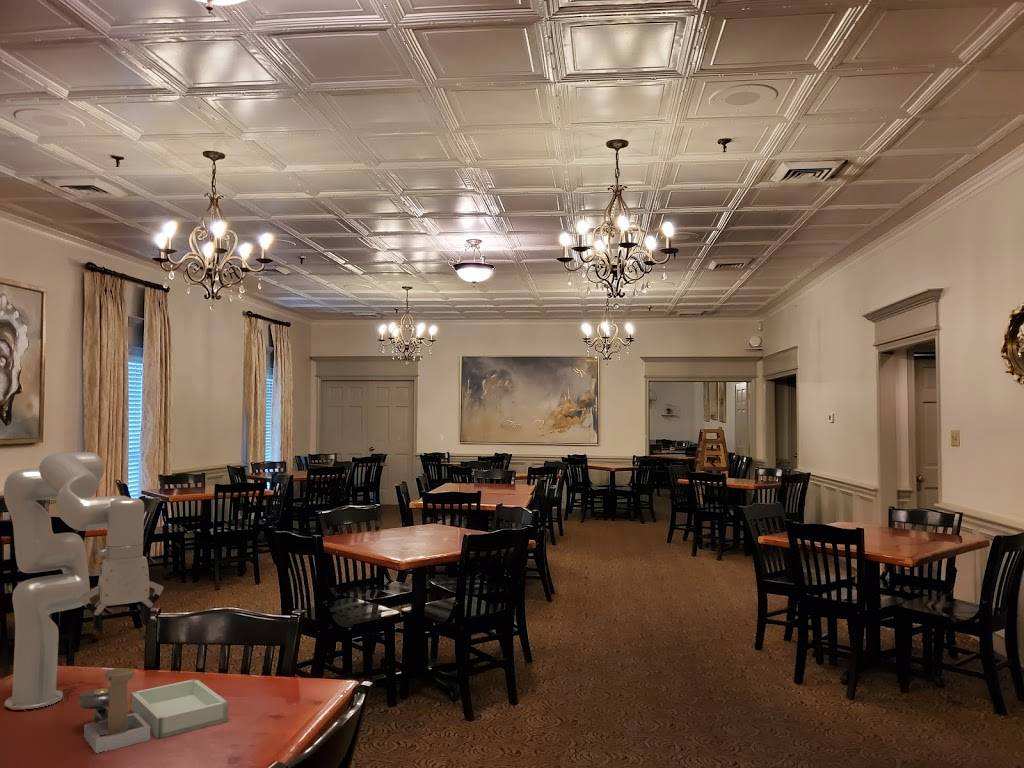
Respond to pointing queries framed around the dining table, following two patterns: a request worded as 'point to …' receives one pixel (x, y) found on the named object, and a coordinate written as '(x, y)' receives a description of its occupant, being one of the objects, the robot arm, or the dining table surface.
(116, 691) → the handle
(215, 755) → the dining table surface
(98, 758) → the dining table surface
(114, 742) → the bracket
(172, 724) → the tray
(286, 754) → the dining table surface
